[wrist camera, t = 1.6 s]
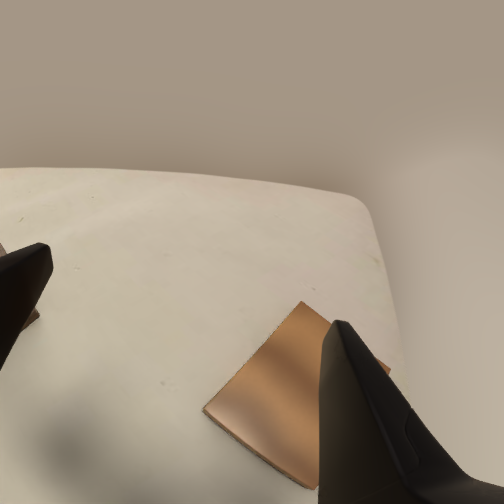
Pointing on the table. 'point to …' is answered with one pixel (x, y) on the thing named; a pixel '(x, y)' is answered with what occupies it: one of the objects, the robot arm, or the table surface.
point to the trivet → (280, 398)
